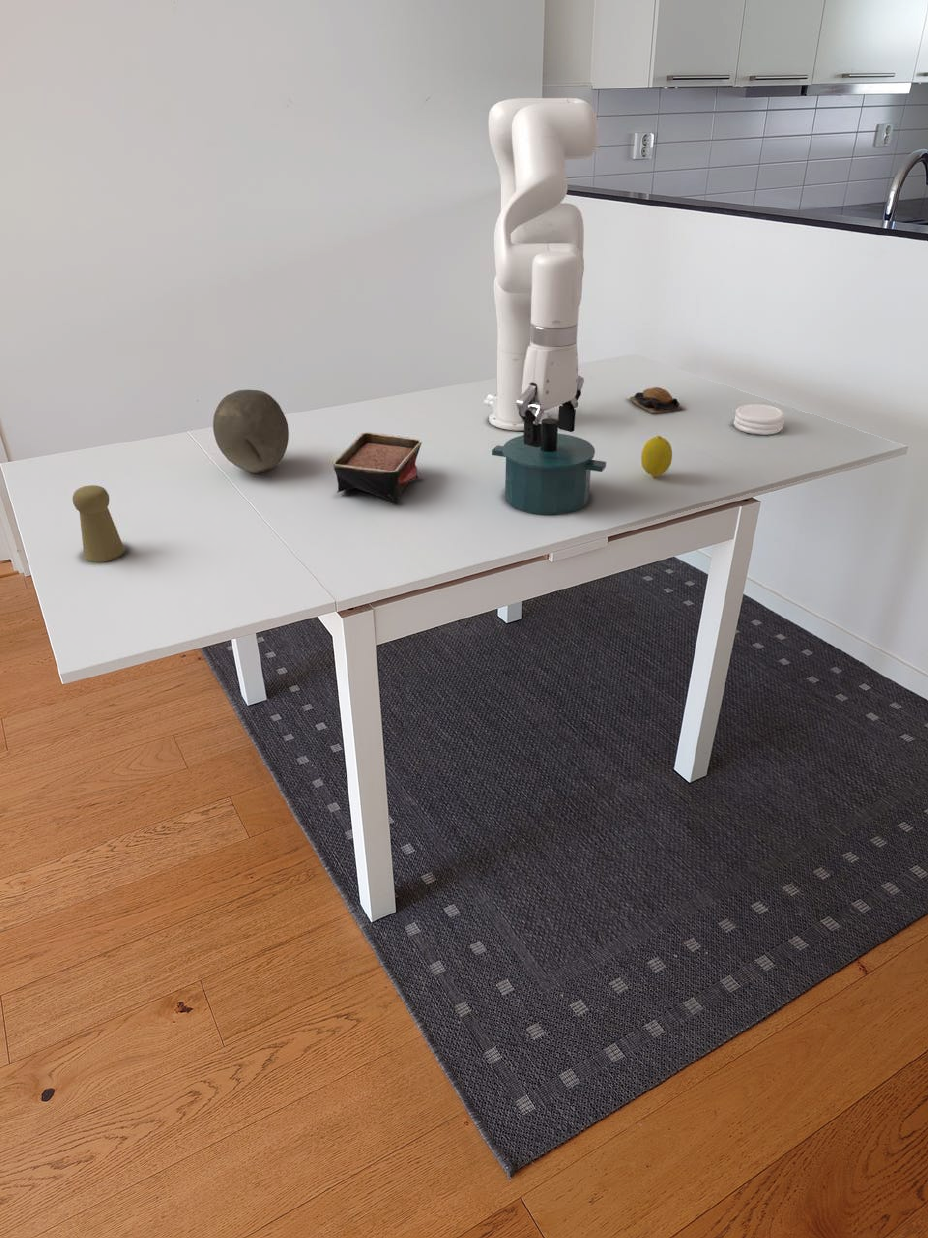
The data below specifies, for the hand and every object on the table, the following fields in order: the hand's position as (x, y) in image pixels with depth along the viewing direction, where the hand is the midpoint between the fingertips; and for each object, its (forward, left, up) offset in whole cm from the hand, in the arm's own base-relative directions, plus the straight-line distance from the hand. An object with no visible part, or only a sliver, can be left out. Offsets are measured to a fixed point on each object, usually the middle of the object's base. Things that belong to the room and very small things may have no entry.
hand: (549, 437), depth 151 cm
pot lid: (0, 0, -3) cm, 3 cm away
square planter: (-26, -16, -11) cm, 33 cm away
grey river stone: (-50, -25, -11) cm, 57 cm away
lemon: (+10, +20, -11) cm, 25 cm away
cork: (-41, -62, -11) cm, 75 cm away
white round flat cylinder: (+13, +57, -11) cm, 60 cm away
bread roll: (-11, +56, -11) cm, 58 cm away
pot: (0, 0, -11) cm, 11 cm away
